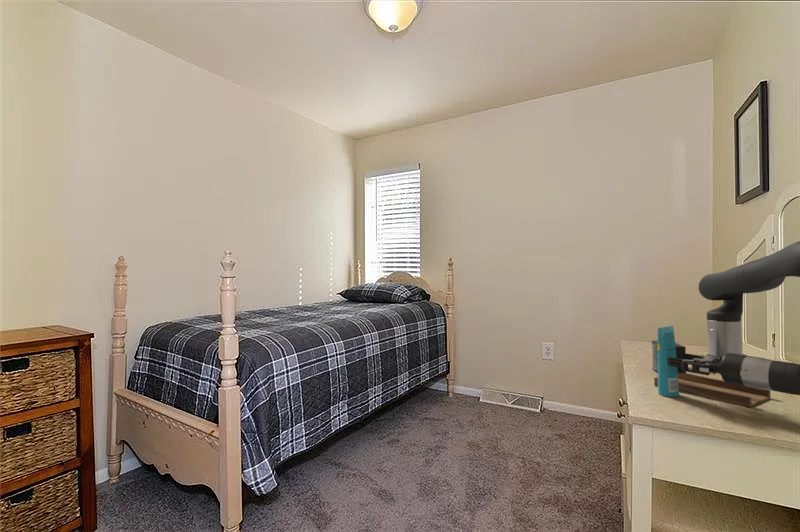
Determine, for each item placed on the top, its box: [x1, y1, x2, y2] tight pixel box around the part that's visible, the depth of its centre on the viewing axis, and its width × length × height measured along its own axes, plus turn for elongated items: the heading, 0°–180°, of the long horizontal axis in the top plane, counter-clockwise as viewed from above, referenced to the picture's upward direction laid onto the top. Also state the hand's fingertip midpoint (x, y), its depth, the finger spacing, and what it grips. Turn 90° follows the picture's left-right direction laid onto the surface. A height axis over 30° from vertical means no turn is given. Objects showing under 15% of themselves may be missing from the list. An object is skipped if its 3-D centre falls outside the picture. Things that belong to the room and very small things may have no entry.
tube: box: [656, 325, 680, 398], centre depth 112 cm, size 7×5×19 cm, turn 124°
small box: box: [651, 340, 687, 374], centre depth 133 cm, size 11×6×10 cm, turn 168°
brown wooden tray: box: [653, 372, 772, 408], centre depth 114 cm, size 13×23×2 cm, turn 29°
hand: (676, 359), depth 110 cm, fingers open, 8 cm apart
